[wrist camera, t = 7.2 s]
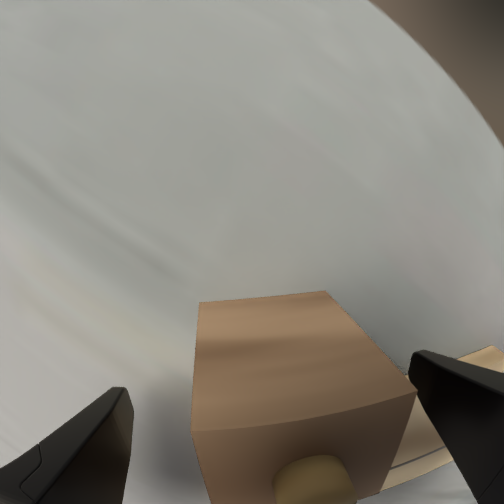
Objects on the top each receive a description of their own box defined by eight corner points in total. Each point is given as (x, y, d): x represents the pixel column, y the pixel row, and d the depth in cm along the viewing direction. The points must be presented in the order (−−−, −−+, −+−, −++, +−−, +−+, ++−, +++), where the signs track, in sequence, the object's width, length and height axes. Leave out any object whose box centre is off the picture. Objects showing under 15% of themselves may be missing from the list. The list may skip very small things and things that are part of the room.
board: (454, 441, 15) (464, 454, 14) (216, 502, 13) (217, 522, 12) (492, 345, 13) (508, 357, 12) (193, 409, 12) (192, 435, 10)
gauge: (310, 474, 14) (346, 577, 7) (228, 486, 13) (242, 595, 6) (325, 290, 11) (443, 419, 4) (199, 302, 11) (189, 474, 4)
